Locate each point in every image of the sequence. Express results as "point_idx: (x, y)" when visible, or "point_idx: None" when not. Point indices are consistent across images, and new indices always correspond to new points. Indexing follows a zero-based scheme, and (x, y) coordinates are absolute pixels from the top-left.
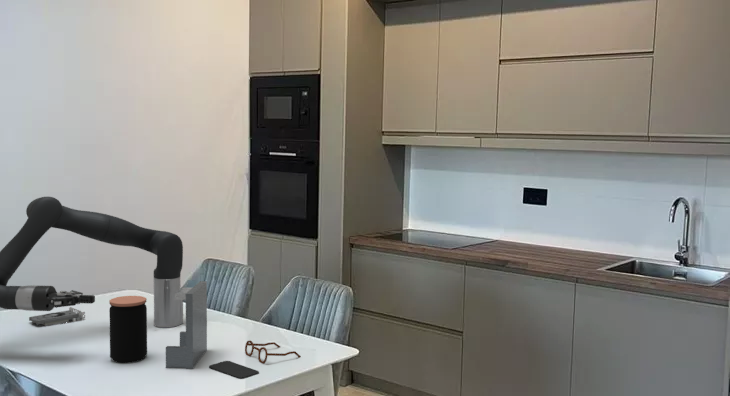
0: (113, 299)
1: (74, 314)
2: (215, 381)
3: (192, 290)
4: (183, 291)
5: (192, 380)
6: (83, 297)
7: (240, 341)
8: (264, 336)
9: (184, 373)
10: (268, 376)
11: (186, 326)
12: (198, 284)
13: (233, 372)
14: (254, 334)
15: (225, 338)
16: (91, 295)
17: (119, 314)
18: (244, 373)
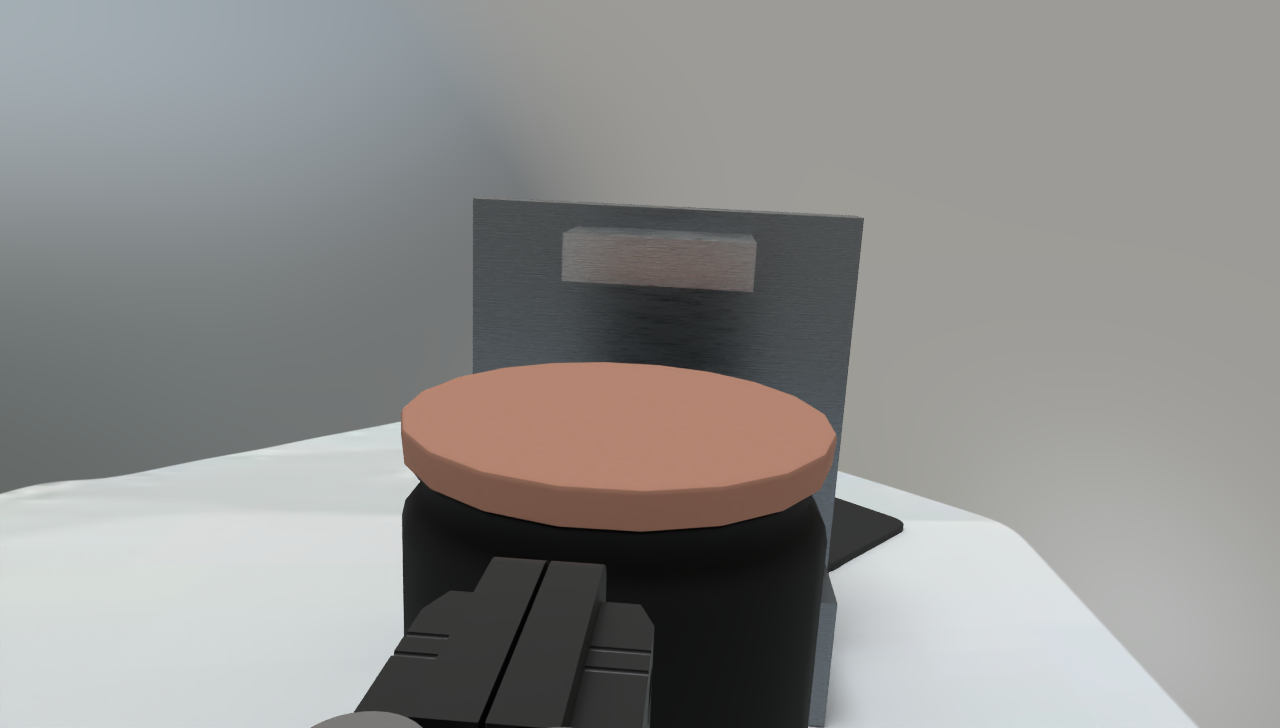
0: (605, 470)
1: None
2: (962, 573)
3: (763, 212)
4: (698, 236)
5: (985, 626)
6: (585, 709)
7: (369, 526)
8: (324, 481)
9: (895, 654)
10: (851, 487)
11: (842, 419)
12: (581, 203)
13: (850, 534)
14: (269, 498)
15: (280, 560)
16: (518, 575)
17: (824, 559)
18: (853, 516)
